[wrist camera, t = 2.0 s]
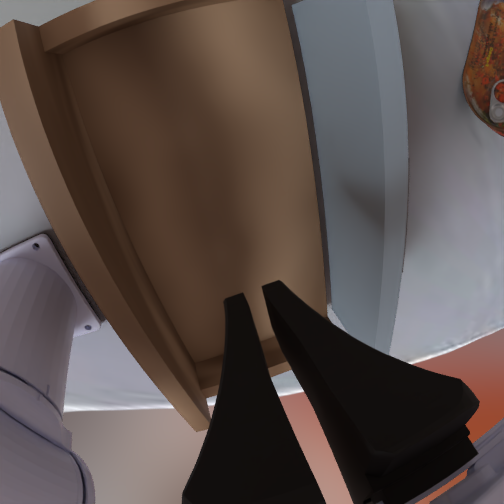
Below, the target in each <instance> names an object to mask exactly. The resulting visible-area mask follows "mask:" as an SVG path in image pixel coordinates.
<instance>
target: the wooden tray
mask: <svg viewBox="0 0 504 504" xmlns="http://www.w3.org/2000/svg"><path fill="white" fill-rule="evenodd" d="M0 101H1V105H2V108H3V111H4V114H5V117H6V120H7V123H8V126H9V129H10V131H11V134H12V137H13V140H14V142H15V145H16V148H17V150H18V153H19V155H20V158H21V160H22V163H23V165H24V168H25V170H26V172H27V175H28V177H29V179H30V182H31V184H32V186H33V188H34V191H35V193H36V195H37V197H38V199H39V201H40V203H41V206H42V208H43V210H44V212H45V214H46V216H47V218H48V220H49V222H50V224H51V226H52V228H53V230H54V232H55V233H56V235H57V237H58V239H59V241H60V243H61V245H62V247H63V248H64V250H65V252H66V254H67V256H68V257H69V259H70V261H71V263H72V264H73V266H74V268H75V270H76V271H77V273H78V275H79V276H80V278H81V280H82V281H83V283H84V285H85V286H86V288H87V289H88V291H89V293H90V294H91V296H92V297H93V299H94V301H95V302H96V304H97V305H98V307H99V308H100V310H101V311H102V313H103V314H104V316H105V317H106V319H107V320H108V322H109V323H110V325H111V326H112V328H113V329H114V330H115V332H116V333H117V335H118V336H119V338H120V339H121V340H122V342H123V343H124V345H125V346H126V347H127V349H128V350H129V351H130V353H131V354H132V355H133V357H134V358H135V359H136V361H137V362H138V363H139V365H140V366H141V367H142V369H143V370H144V371H145V372H146V374H147V375H148V376H149V378H150V379H151V380H152V381H153V383H154V384H155V385H156V386H157V388H158V389H159V390H160V391H161V392H162V394H163V395H164V396H165V397H166V398H167V400H168V401H169V402H170V403H171V404H172V405H173V407H174V408H175V409H176V410H177V411H178V412H179V413H180V415H181V416H182V417H183V418H184V419H185V420H186V421H187V422H188V424H189V425H190V426H191V427H192V428H193V429H194V430H195V431H196V432H198V431H202V430H206V429H208V428H209V425H210V422H211V417H210V413H209V409H208V405H207V400H206V398H209V397H212V396H215V395H217V394H218V389H219V384H220V378H221V372H222V364H223V356H224V344H225V310H224V304H223V301H224V300H225V298H228V297H231V296H233V295H236V294H239V293H242V292H243V293H244V295H245V297H246V300H247V302H248V304H249V306H250V310H251V313H252V316H253V320H254V323H255V326H256V329H257V333H258V336H259V339H260V343H261V346H262V349H263V352H264V356H265V359H266V363H267V366H268V370H269V373H270V377H273V376H276V375H278V374H281V373H284V372H287V371H289V370H292V369H291V367H290V365H289V363H288V362H287V360H286V358H285V356H284V354H283V353H282V351H281V348H280V346H279V344H278V341H277V339H276V336H275V334H274V332H273V329H272V327H271V323H270V319H269V315H268V311H267V307H266V303H265V299H264V295H263V291H262V287H261V286H263V285H265V284H268V283H271V282H274V281H277V280H280V281H282V282H283V283H284V284H285V285H286V286H287V287H288V288H289V289H290V290H291V291H292V292H293V293H295V294H296V295H297V296H298V297H299V298H300V299H301V300H303V301H304V302H305V303H306V304H307V305H309V306H310V307H311V308H312V309H314V310H315V311H316V312H318V313H319V314H320V315H321V316H323V317H324V318H325V319H327V320H328V321H330V319H329V318H328V316H327V300H326V286H325V273H324V262H323V250H322V240H321V230H320V220H319V211H318V202H317V194H316V186H315V178H314V170H313V163H312V156H311V149H310V142H309V135H308V129H307V122H306V116H305V110H304V104H303V98H302V92H301V87H300V81H299V76H298V70H297V65H296V60H295V55H294V50H293V45H292V40H291V35H290V31H289V26H288V22H287V17H286V13H285V8H284V4H283V0H95V1H93V2H90V3H88V4H86V5H83V6H81V7H79V8H76V9H74V10H72V11H70V12H67V13H65V14H63V15H61V16H59V17H57V18H55V19H53V20H51V21H49V22H47V23H45V24H43V25H41V26H39V27H38V26H34V25H31V24H28V23H24V22H21V21H17V20H14V19H13V20H12V21H10V22H8V23H7V24H5V25H4V26H2V27H0ZM330 322H331V321H330ZM331 323H332V322H331Z"/></svg>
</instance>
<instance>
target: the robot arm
mask: <svg viewBox="0 0 504 504" xmlns="http://www.w3.org/2000/svg"><path fill="white" fill-rule="evenodd" d="M34 243H37V244H39V246H40V247H36V246H35V245H34ZM261 287H262V291H263V295H264V299H265V303H266V307H267V311H268V315H269V319H270V323H271V327H272V329H273V332H274V334H275V336H276V339H277V341H278V344H279V346H280V348H281V351H282V353H283V354H284V356H285V358H286V360H287V362H288V363H289V365H290V367H291V369H292V371H293V372H294V374H295V376H296V378H297V380H298V381H299V383H300V385H301V387H302V388H303V390H304V392H305V394H306V395H307V397H308V399H309V401H310V403H311V405H312V406H313V408H314V411H315V413H316V415H317V418H318V420H319V422H320V424H321V427H322V429H323V431H324V434H325V436H326V438H327V441H328V443H329V445H330V447H331V449H332V452H333V455H334V457H335V459H336V462H337V464H338V466H339V469H340V471H341V474H342V476H343V479H344V481H345V483H346V486H347V488H348V491H349V493H350V496H351V498H352V501H353V503H354V504H415V503H416V502H418V501H420V500H422V499H423V498H425V497H427V496H428V495H430V494H431V493H433V492H434V491H436V490H437V489H439V488H440V487H442V486H443V485H445V484H447V483H448V482H449V481H451V480H452V479H454V478H455V477H456V476H458V475H459V474H461V473H462V472H464V471H465V470H466V469H468V470H467V476H466V478H465V479H463V480H462V481H460V482H459V483H457V484H456V485H454V486H453V487H451V488H450V489H449V490H447V491H445V492H444V493H443V494H441V495H440V496H438V497H437V498H435V499H434V500H432V501H431V502H430V504H504V418H503V419H502V420H501V421H500V422H498V423H497V424H496V425H495V426H494V427H493V428H491V429H490V430H489V431H488V432H487V433H485V434H484V435H483V436H482V437H480V438H479V439H478V440H477V441H475V442H474V443H473V444H472V443H471V441H470V440H469V438H468V437H467V436H468V435H469V434H470V431H469V430H468V428H467V427H466V425H465V424H466V423H467V422H468V421H469V419H470V418H471V417H472V416H473V415H474V413H475V412H476V410H477V409H478V407H479V402H480V401H479V400H478V399H477V398H476V396H475V395H474V393H473V392H472V391H471V390H470V388H469V387H468V386H467V385H466V384H465V383H463V382H462V380H461V379H458V378H454V377H449V376H446V375H441V374H438V373H435V372H431V371H428V370H425V369H422V368H419V367H417V366H414V365H411V364H408V363H406V362H404V361H401V360H399V359H396V358H394V357H392V356H389V355H387V354H385V353H383V352H381V351H379V350H377V349H375V348H373V347H371V346H369V345H367V344H365V343H363V342H361V341H360V340H358V339H356V338H354V337H353V336H351V335H349V334H348V333H346V332H345V331H343V330H342V329H340V328H339V327H337V326H336V325H334V324H333V323H331V322H330V321H328V320H327V319H325V318H324V317H323V316H321V315H320V314H319V313H318V312H316V311H315V310H314V309H312V308H311V307H310V306H309V305H307V304H306V303H305V302H304V301H303V300H301V299H300V298H299V297H298V296H297V295H296V294H295V293H293V292H292V291H291V290H290V289H289V288H288V287H287V286H286V285H285V284H284V283H283V282H282V281H280V280H277V281H274V282H271V283H268V284H265V285H263V286H261ZM223 304H224V310H225V344H224V356H223V364H222V372H221V378H220V384H219V389H218V394H217V398H216V403H215V407H214V411H213V414H212V418H211V422H210V425H209V428H208V431H207V435H206V437H205V440H204V443H203V446H202V449H201V451H200V454H199V457H198V459H197V462H196V464H195V467H194V469H193V471H192V473H191V475H190V478H189V480H188V482H187V484H186V486H185V489H184V490H183V494H182V504H326V502H325V499H324V497H323V495H322V493H321V490H320V488H319V486H318V484H317V481H316V479H315V477H314V475H313V473H312V471H311V469H310V466H309V464H308V462H307V460H306V458H305V456H304V453H303V451H302V449H301V447H300V445H299V443H298V440H297V438H296V436H295V434H294V431H293V430H292V427H291V424H290V422H289V420H288V418H287V415H286V413H285V411H284V408H283V406H282V404H281V401H280V399H279V397H278V394H277V392H276V390H275V387H274V385H273V382H272V380H271V377H270V373H269V370H268V366H267V363H266V359H265V356H264V352H263V349H262V346H261V343H260V339H259V336H258V333H257V329H256V326H255V323H254V320H253V316H252V313H251V310H250V306H249V304H248V302H247V300H246V297H245V295H244V293H243V292H242V293H239V294H236V295H233V296H231V297H228V298H225V300H224V301H223ZM87 325H90V326H87ZM100 328H101V321H100V320H99V318H98V317H97V315H96V314H95V312H94V311H93V309H92V308H91V306H90V305H89V303H88V302H87V300H86V299H85V297H84V295H83V294H82V292H81V291H80V289H79V288H78V286H77V284H76V283H75V281H74V279H73V278H72V276H71V274H70V273H69V271H68V269H67V268H66V266H65V264H64V263H63V261H62V259H61V257H60V256H59V254H58V252H57V250H56V249H55V247H54V245H53V243H52V241H51V239H50V238H49V237H48V236H47V235H46V234H40V235H37V236H35V237H33V238H31V239H29V240H27V241H25V242H22V243H20V244H18V245H16V246H14V247H12V248H10V249H8V250H6V251H4V252H2V253H0V504H95V489H94V482H93V479H92V476H91V473H90V471H89V469H88V467H87V465H86V463H85V462H84V460H82V458H81V457H80V456H79V455H78V454H76V453H75V452H74V451H72V450H71V443H72V433H71V432H70V431H69V430H67V429H66V428H65V427H64V426H63V423H62V420H63V408H64V398H65V389H66V380H67V373H68V365H69V359H70V352H71V346H72V340H73V337H76V336H80V335H83V334H86V333H90V332H93V331H96V330H99V329H100Z"/></svg>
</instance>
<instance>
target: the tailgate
mask: <svg viewBox="0 0 504 504" xmlns="http://www.w3.org/2000/svg"><path fill="white" fill-rule="evenodd" d="M292 9H293V13H294V18H295V23H296V27H297V32H298V37H299V42H300V47H301V52H302V57H303V62H304V67H305V73H306V78H307V84H308V90H309V96H310V102H311V108H312V114H313V121H314V128H315V135H316V142H317V149H318V157H319V164H320V172H321V181H322V190H323V199H324V208H325V218H326V229H327V241H328V253H329V267H330V282H331V299H332V310H333V311H334V313H335V314H336V316H337V317H338V319H339V320H340V321H341V323H342V324H343V326H344V327H345V329H346V330H347V332H348V333H349V335H351V336H353V337H354V338H356V339H358V340H360V341H361V342H363V343H365V344H367V345H369V346H371V347H373V348H375V349H377V350H379V351H381V352H383V353H385V354H387V355H389V351H390V346H391V341H392V335H393V330H394V324H395V318H396V312H397V305H398V298H399V291H400V283H401V275H402V273H403V265H404V255H405V244H406V232H407V217H408V197H409V158H408V126H407V107H406V93H405V81H404V71H403V62H402V54H401V46H400V39H399V33H398V26H397V20H396V15H395V9H394V4H393V0H303V1H301V2H298V3H296V4H293V5H292Z"/></svg>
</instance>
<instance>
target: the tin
mask: <svg viewBox="0 0 504 504" xmlns="http://www.w3.org/2000/svg"><path fill="white" fill-rule="evenodd" d="M463 90H464V94H465V98H466V101H467V103H468V105H469V107H470V108H471V110H472V111H473V112H474V114H475V115H476V116H477V117H478V118H479V119H480V120H481V121H483V122H484V123H485V124H486V125H487V126H488V127H490V128H491V129H492V130H493V131H495V132H496V133H498V134H499V135H501V136H503V137H504V0H480V3H479V7H478V13H477V18H476V23H475V28H474V32H473V37H472V41H471V45H470V49H469V53H468V56H467V60H466V64H465V67H464V72H463Z"/></svg>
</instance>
